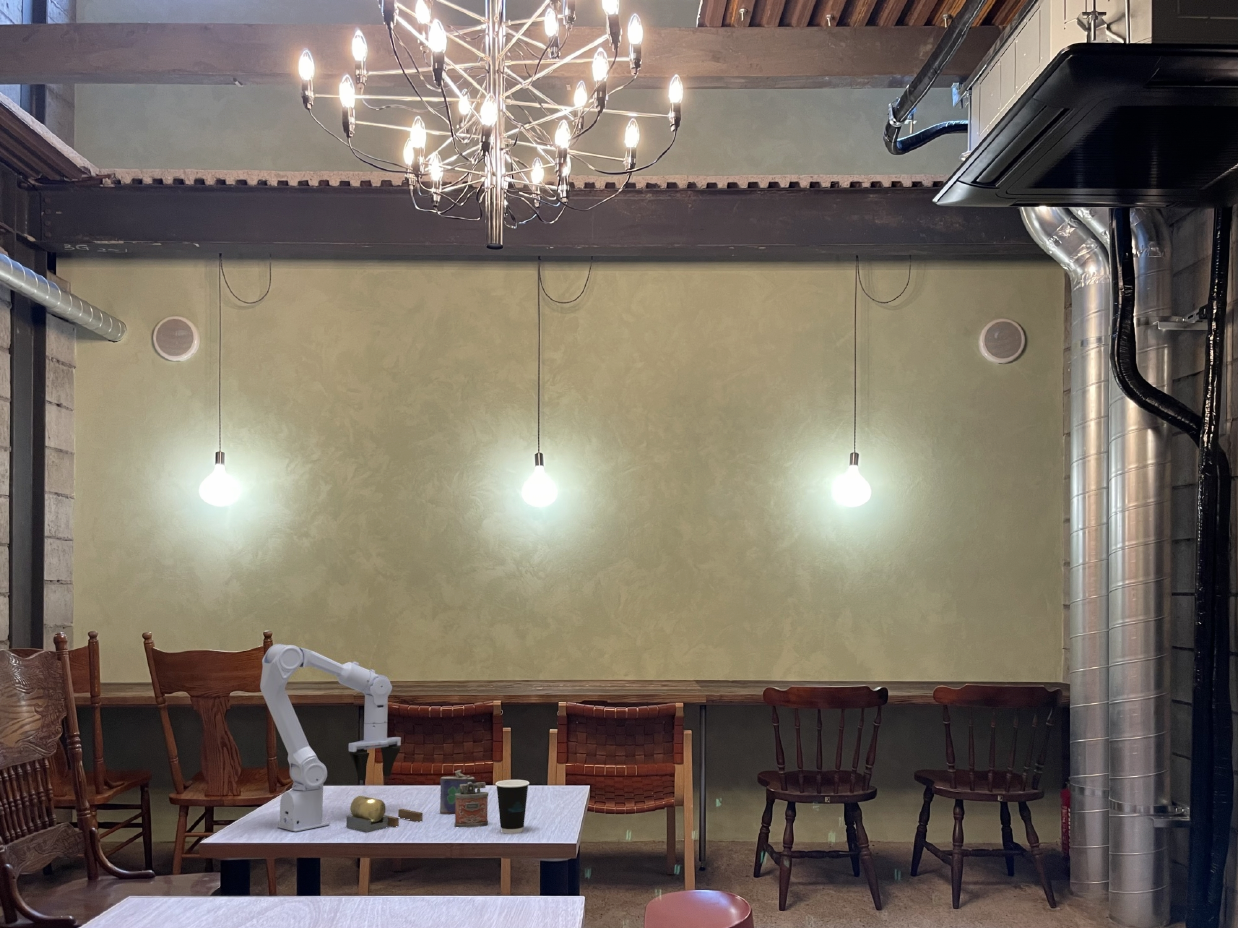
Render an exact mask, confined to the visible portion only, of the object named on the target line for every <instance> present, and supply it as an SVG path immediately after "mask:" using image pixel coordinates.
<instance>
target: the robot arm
mask: <svg viewBox="0 0 1238 928" xmlns="http://www.w3.org/2000/svg"><path fill="white" fill-rule="evenodd" d="M261 663H262V664H261V665H262V671H261V677H260V684H259V686H260V687H259V688H260V691H261V693H262V696H263V698H264V701H265V704H266V705H267V708H268V710H269V712H270V715H271V717H272V719H273V721H274V724H275V727H276V728H277V731H278V733H279V735H280V738H281V741H282V743H283V745H284V747H285V749H286V751H287V754H288V755H287V761H288V764H289V777H290V779H291V780H292V781H293V784H292V785H291V790H289V791H285V792H284V793H282V795H281V798H280V802H279V804H280V805H279V824H278V825H277V828H279V829H284V830H288V831H291V832H301V831H307V830H312V829H316V828H319V827H326V826H330V824H331V823H330V822H328V821H324V820H323V811H324V810H323V807H324V806H323V804H324V803H323V802H324V783H325V782H326V780H327V777H328V770H327V767H326V765H325V764H324V763H323V762H321V761H320V760H319V758H318V756H317V754H316V753H315V751H314V750H313V749H312V747H311V746H310V745H309V741H308V740H307V736H306V735H305V732H304V731H303V728H302V725H301V723H300V721H299V718H298V715H297V714H296V712H295V709H294V707H293V705H292V702H291V700H290V698H289V696H288V692H287V690H286V685H287V684H288V682H289V679H290V678H291V677H292V676H293V675H294V673H295V672H297V670H298V669H299V668H303V669H304V668H308V667H311V668H313V669H316V670H319V671H322V672H324V673H327V674H329V675H332V676H335V677H336V679H337V681H338V683H339V684H340V685H341V686H345V687H348V688H350V689H352V690H354V691H358V692H359V693H362V694H363V695H364V713H363V714H364V715H363V717H364V721H363V740H359V741H355V742H349V743H348V754H349V757H350V758H351V760H352V762H353V764H354V767H355V771H356V776H357V780H358V781H362V782H363V781H366V778H367V765H368V761H369V760H368V759H369V755H370V753H369V752H366V750H371V749H379V748H380V751H381V752H380V753H381V758H382V775H383V776H385V777H390V776H391V775H392V770H393V766H394V763H395V761H396V758H397V757H398V755H399V753H400V751H401V747H400V746H401V745H402V744H401V743H402V742H401V741H402V737H399V736H394V737H388V710H389V709H388V707H389V706H388V702H389V698H388V697H389V696H390V694H391V692H392V690H393V685H392V684H391V681H390V679H389V677H387V676H386V675H383V674H377V673H376V670H374V669H372V668H371V669H368V668H364V667H363V666H360V663H359V662H357V661H352V662H351V661H348V662H346V663H343V664H342V663H339V662H338V661H335V660H333V659H331V658H328V657H326V656H324V655H323V654H320V653H318V652H316V651H313V650H311V649H307V648H304V647H298V646H297V645H294V644H289V645H288V644H283V643H276V644H273V645H271V646H270V647H269V648H268V650H267V651H266V652H265V654H264V656H263V658H262V660H261Z"/></svg>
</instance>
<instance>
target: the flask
mask: <svg viewBox="0 0 1238 928" xmlns="http://www.w3.org/2000/svg"><path fill="white" fill-rule="evenodd" d="M461 771H462V769H458V770H456V771H454V773H455V776H442V777H440V796H439V797H440V801H439V803H440V804H439V813H441V814H442V815H452V814H455V802H456V798H455V794H457V793H461V792H460V785H461V784H467V783H468V782H472V784H476V778H475V777H474V776H470V775H464V774H463V773H461ZM465 790H466V789H464V793H465ZM474 790H475V791H476V789H474Z"/></svg>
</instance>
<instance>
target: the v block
mask: <svg viewBox="0 0 1238 928" xmlns="http://www.w3.org/2000/svg"><path fill="white" fill-rule="evenodd" d="M385 815H386V814H384V816H383V818H382V819H381V820H379V821H377V822H374V821H371V819H366V818H362V817H357V816H353V815H352V814H350V815H346V821H345V822H346V823H345V824H346V825H345V826H346V827H347V829H351V830H354V829H355V831H359V832H363V833H369V832H370V831H371V832H373V831H374V832H375V831H379V829H380V830H383V828H384V829H387V828H386V827H389V826H388V816H389V815H388V816H385ZM346 827H345V828H346ZM371 832H370V833H371Z"/></svg>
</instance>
